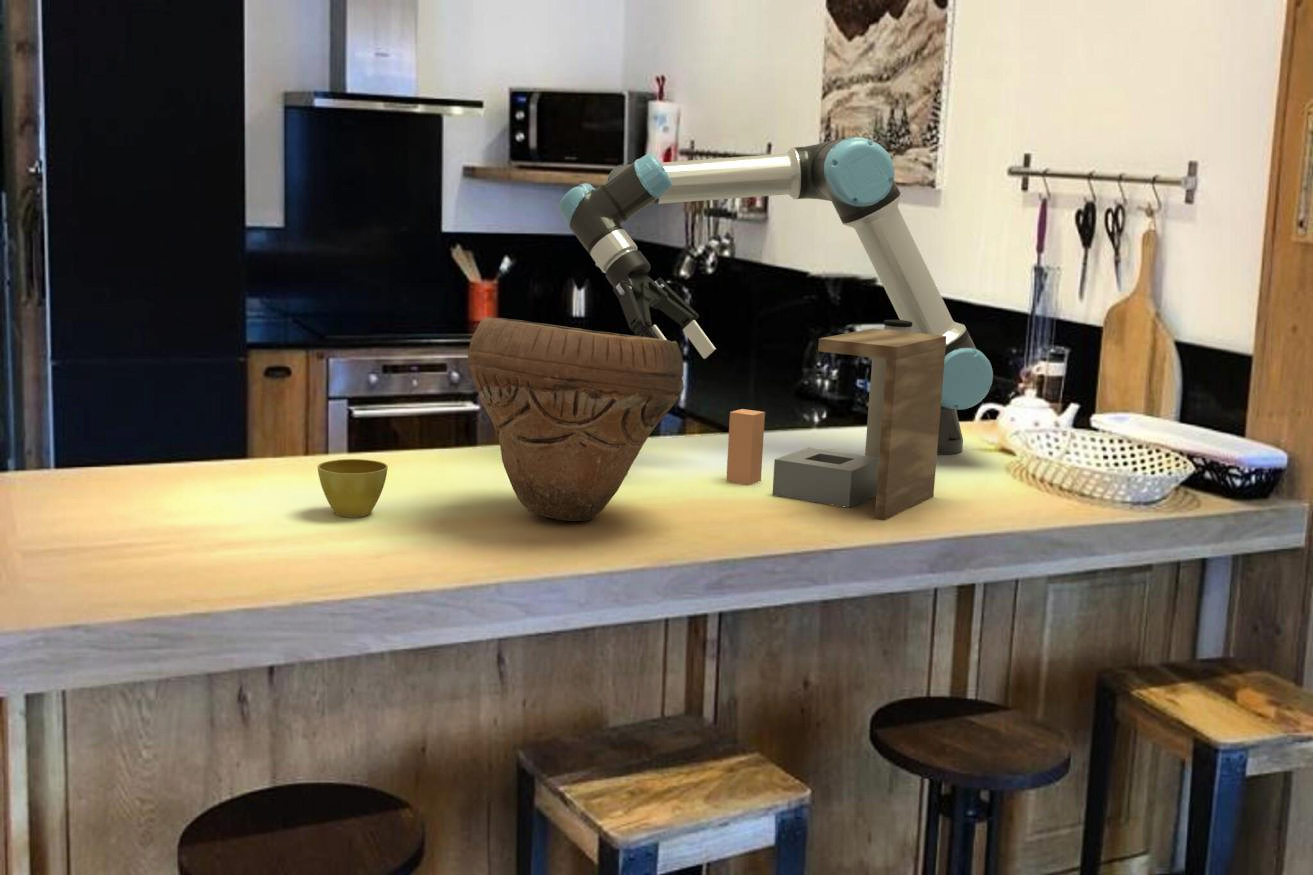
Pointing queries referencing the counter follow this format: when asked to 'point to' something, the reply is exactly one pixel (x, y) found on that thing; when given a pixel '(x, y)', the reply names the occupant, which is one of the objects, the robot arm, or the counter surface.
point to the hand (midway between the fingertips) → (691, 357)
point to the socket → (826, 477)
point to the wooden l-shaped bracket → (903, 411)
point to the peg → (745, 446)
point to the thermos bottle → (879, 393)
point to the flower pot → (352, 485)
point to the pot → (571, 407)
